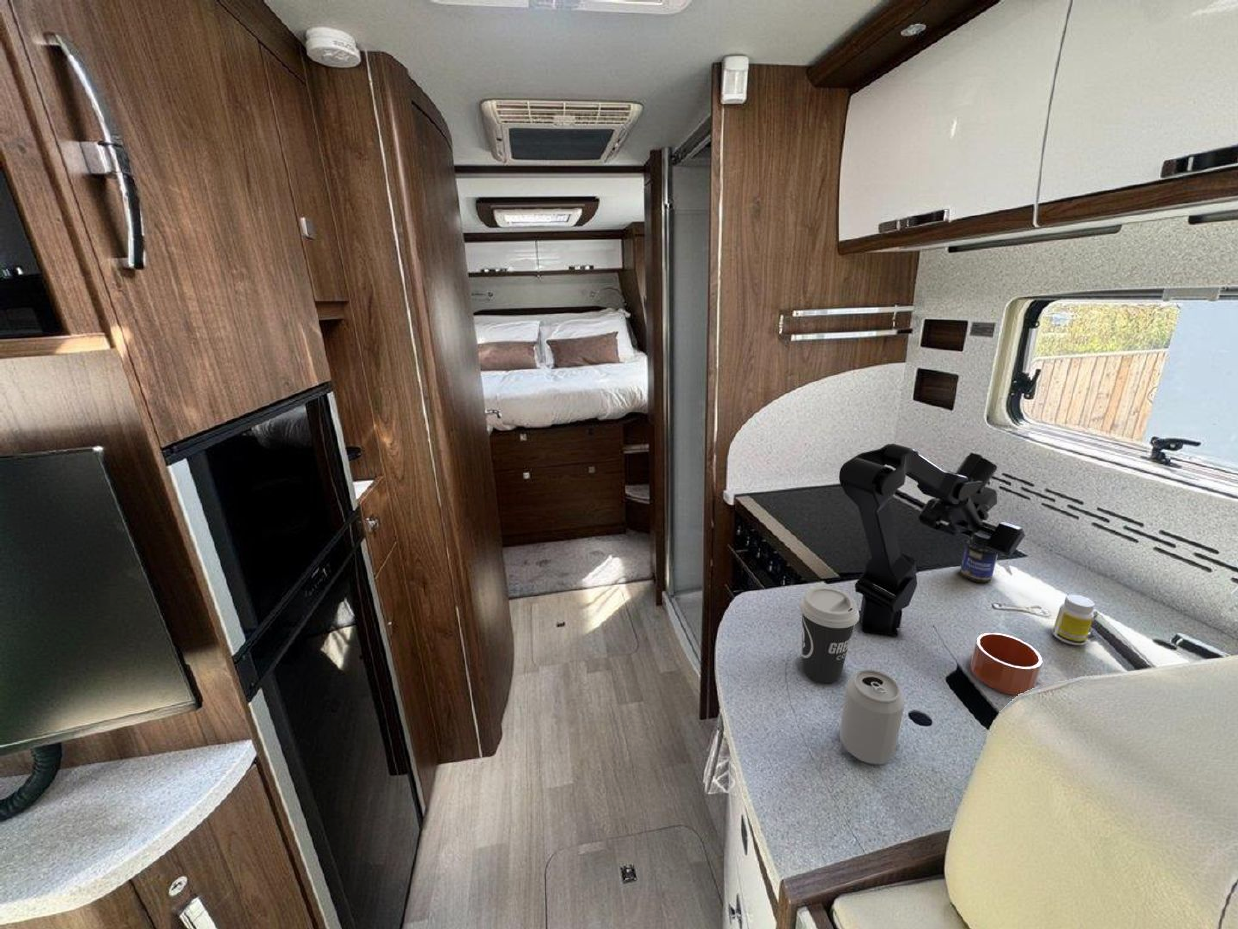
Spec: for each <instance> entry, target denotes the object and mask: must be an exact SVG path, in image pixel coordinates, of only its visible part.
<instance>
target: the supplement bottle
mask: <svg viewBox="0 0 1238 929" xmlns="http://www.w3.org/2000/svg"><path fill="white" fill-rule="evenodd" d="M1094 608H1095V603H1094V601H1093V600H1091V599H1089V598H1087V597H1085V596H1083V595H1078V594H1067V595H1066V597H1065V599H1064V602H1063V603H1062V604H1060V606H1059V610H1058V613H1057V616H1056V619H1055V622H1054V625H1053V629H1052V634H1053V636H1054V637H1056V638H1057V639H1058V640H1060V641H1061V642H1063V643H1065V644H1068V645H1072V646H1082V645H1084V644H1085V643H1086V642H1087V638H1088V635H1089V633H1090V629H1091V626H1092V624H1093V620H1094V617H1095V615H1094V610H1095V609H1094Z"/></svg>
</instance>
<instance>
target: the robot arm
mask: <svg viewBox="0 0 1238 929" xmlns="http://www.w3.org/2000/svg"><path fill="white" fill-rule="evenodd" d="M997 470H998V466H997V464H995V463H993V462H992V461H990V460H989V459H986V458H985V457H983V456H982V454H978V453H974V452H970V453H969V455H967V456H966V457H965V458H964V460H963V461H962V462H961V464H960V466H959V467H958V468H957V470H956V471H949V470H945V469H942V468H940V467H939V466H938V465H936V464H934V463H932V462H931V461H929V459H927V458H925V457H924V456H922V455H921V454H919V452H918V451H917V450H915V449H914V448H911V447H908V446H905V445H900V444H896V443H887V444H885V445H884V446H882V447H880V448H878V449H877V448H876V449H873V450H868V451H865V452H860V453H858V454H857V455H855V456H853V457H851V458H850V459H849V460H847V461H845V462H844V463H843V464H842V465H841V467H840V470H839V474H838V479H839V483H840V486H841V488H842V489H843V492H844V494H845V495H846V496H847V497H848V498H849V500H851V501H852V502H853V503H854V504H855V505H856V506H857V509H858V512H859V516H860V519H861V523H862V526H863V530H864V533H865V534H864V535H865V537H866V538H865V539H866V541H867V544H868V545H867V546H868V548H869V553H870V556H871V557H870V560H869V561H868V562H867V563H866V564H865V569H864V570H863V572H862V574H861V575H860V576H859V577H858V579H857V580H856V582H855V583H854V590H855V592H856V593H859V594H860V595H862V598H861V604H860V610H858V611H859V620H858V621H859V624H860V627H861V631H862V632H864V633H869V634H876V635H883V636H891V637H898V636H899V631H898V629H900V628H901V622H902V617H903V609H906V608H908V607H909V606H910V604H911V601H912V599H913V596H914V593H915V591H916V589H917V586H918V578H917V574H918V573H919V571H918V569H917V568H916V560H915V558H914V557H913V556H909V555H908V554H905V553H904V552H901V551H900V546H899V540H898V537H897V533H896V528H895V524H894V519H893V515H892V511H891V505H890V500H891V499H892V498H893V496H894V495H895V494H896V493H897V490H898V489H900V488H901V487H903V486H904V485H905V484H906V477H908V478H909V479H911V480H913V481H915V482H916V483H917V485H916V487H917V489H918V490H919V491H920V492H921V493H922V494H923V495H924V496H928V497H931V498H930V499H929V500H927V502H926V504H925V505H924V506H923V508H922V509H921V510H920V512H919V514H918V520H919V522H920V523H921V524H922V525H923V526H927V527H928V528H931V529H934V530H936V531H939V532H942V533H945V534H947V535H951V536H954V537H957V536H958V535H962V536H964V537H966V538H970V539H972V538H973V537H972V536H973V535H974V534H975V533H977V532H979V533H982V534H985V535H987V536H990V538H989V539H988V542H987V547H988V548H989V549H988V550H990V551H992V552H995V553H997V554H998V555H1000V556H1004V557H1012V556H1013V554H1014V553H1015V551H1016V550H1017V548H1018V547H1019V545H1020V544H1021V542H1022V541H1023V539H1024V538H1025V536H1026V533H1025V532H1024V530H1023V528H1022V527H1020V526H1018V525H1014V524H1011V523H1008V522H1005V521H1000V522H999V523H998V524H997V525H994V524H991V523H988V522H985V521H987V520H988V519H989V517H990V514H989V513H988V512H990V511H991V509H992V508H993V507H995V506H996V505H998V493H997V492H998V491H997V490H996V489H994V488H992V487H988V486H987V484H988V483H989V482H990V480H991V479H992V478H993V476H994V475H995V473H996V471H997Z"/></svg>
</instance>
